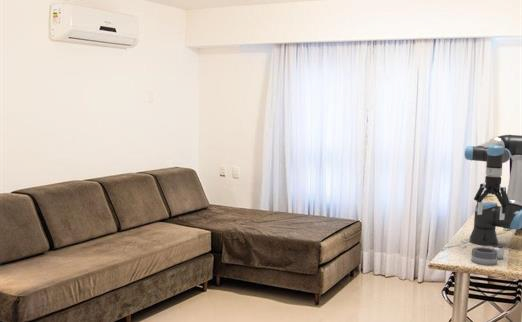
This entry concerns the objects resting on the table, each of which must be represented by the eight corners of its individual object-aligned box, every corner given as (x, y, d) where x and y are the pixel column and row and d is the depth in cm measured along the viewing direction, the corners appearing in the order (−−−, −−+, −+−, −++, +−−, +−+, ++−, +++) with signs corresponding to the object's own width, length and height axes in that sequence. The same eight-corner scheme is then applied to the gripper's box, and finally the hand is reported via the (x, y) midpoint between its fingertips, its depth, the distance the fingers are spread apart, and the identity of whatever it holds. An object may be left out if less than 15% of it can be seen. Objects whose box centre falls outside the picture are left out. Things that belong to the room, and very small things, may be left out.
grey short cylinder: (481, 257, 301) (482, 246, 300) (501, 263, 291) (502, 251, 290) (466, 260, 294) (466, 248, 294) (486, 266, 284) (487, 254, 284)
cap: (495, 256, 305) (496, 244, 304) (505, 259, 300) (506, 246, 299) (488, 257, 302) (489, 245, 301) (498, 260, 297) (499, 248, 296)
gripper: (468, 173, 305) (466, 213, 307) (509, 179, 283) (506, 222, 286) (478, 172, 308) (475, 211, 311) (519, 179, 287) (516, 221, 289)
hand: (490, 217), depth 298 cm, fingers open, 13 cm apart
